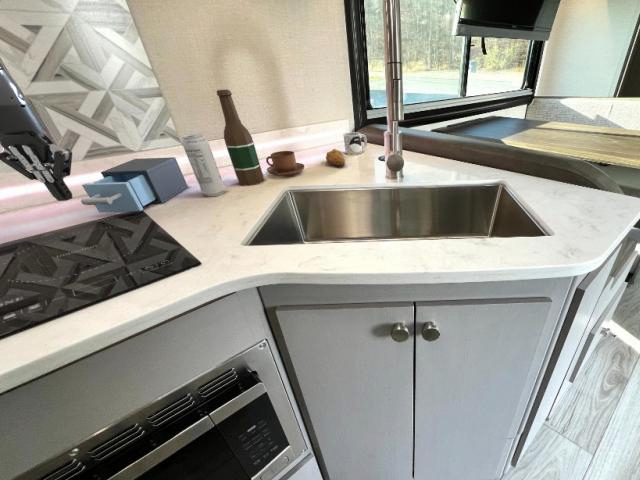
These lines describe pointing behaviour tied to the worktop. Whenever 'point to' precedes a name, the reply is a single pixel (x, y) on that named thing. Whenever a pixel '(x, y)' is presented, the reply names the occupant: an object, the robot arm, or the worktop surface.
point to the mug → (354, 142)
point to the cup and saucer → (283, 164)
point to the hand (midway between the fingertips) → (65, 199)
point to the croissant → (336, 158)
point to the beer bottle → (239, 143)
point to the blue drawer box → (155, 175)
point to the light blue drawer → (119, 193)
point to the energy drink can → (203, 164)
